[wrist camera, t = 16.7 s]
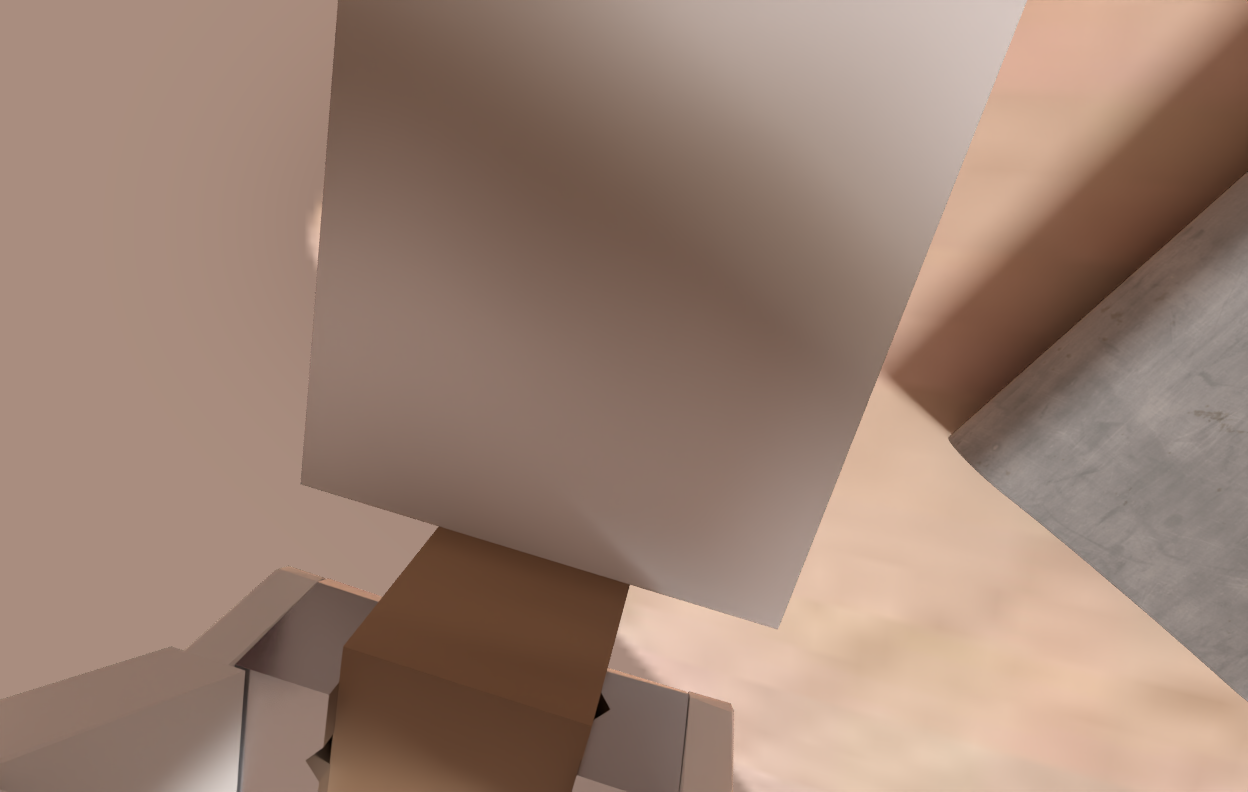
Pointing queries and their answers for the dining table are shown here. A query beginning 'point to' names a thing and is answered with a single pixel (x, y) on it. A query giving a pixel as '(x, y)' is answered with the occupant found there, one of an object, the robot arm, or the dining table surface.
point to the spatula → (605, 328)
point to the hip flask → (1146, 437)
